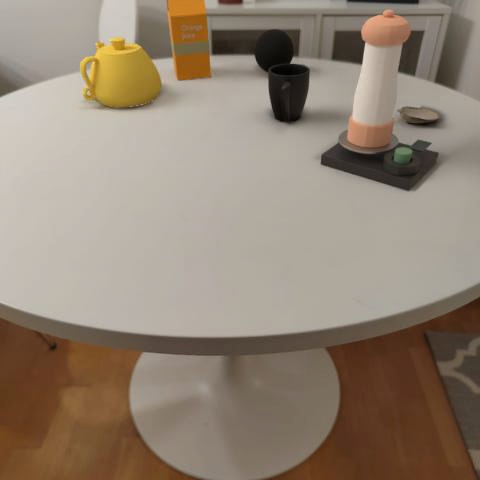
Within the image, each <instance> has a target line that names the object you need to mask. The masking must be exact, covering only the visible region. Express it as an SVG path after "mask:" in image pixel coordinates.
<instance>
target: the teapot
mask: <svg viewBox="0 0 480 480" xmlns="http://www.w3.org/2000/svg"><path fill="white" fill-rule="evenodd" d="M109 42H110V44H108V45H107V44H106V45H105V42H102V41H98V42H97V41H96V42H94V43H95V48H96V52H95V54H94V56H93V55H89V56H86V57H84V58H83V59H82V60H81V61H80V64H79V71H80V74H81V78H82V79H83V81H84V83H85V85H86V87H84V88H83V89H82V96H83V98H84V99H85V100H86V101H94V100H96V101H97V102H99V103H100V104H101V105H102V104H103V105H102V106H104V105H106V106H105V107H107V106H111V107H130V106H136V105H141V104H144V105H146V104H145V103H147V104H149V103H151V102H153V101H155V100H156V98H157V97H158V95H159V94H160V92H161V90H162V87H163V84H162V79H161V76H160V73H159V70H158V68H157V67H156V64H155V63H154V61H153V60H152V58H151V57H150V56H149V55H148V52H147V51H145V50H144V49H143V47H142V46H141V45H140V44H137V43H131V42H127V43H126V38H125V37H122V36H117V37H116V36H115V37H112V38H109ZM89 64H91V66H90V70H89V76H88V72H87V66H88V65H89ZM88 91H89V94H88ZM152 100H153V101H152ZM148 102H149V103H148ZM141 106H142V105H141ZM111 107H110V108H111Z"/></svg>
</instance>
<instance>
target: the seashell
mask: <svg viewBox="0 0 480 480" xmlns="http://www.w3.org/2000/svg"><path fill="white" fill-rule="evenodd" d="M396 111H397V113H399V114H400V117H401V119H402V120H403V121H405V122H407V123H410V124H425V123H430V122H431V123H432V122H434V121H437V120H439V119H440V116H439V114H438V113H437V112H435V111H432V110H429V109H425V108H422V107H416V106H402V107H400V108H399V109H397V110H396Z"/></svg>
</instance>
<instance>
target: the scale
mask: <svg viewBox="0 0 480 480" xmlns="http://www.w3.org/2000/svg"><path fill="white" fill-rule="evenodd" d="M411 145H412V144H411ZM411 145H410V144H406V143H402V142H398V146H397V147H396V148H395V149H394V150H392V151H389V152H386V153H380V154H365V153H358V152H354V151H351V150H348V149H346V148H344V147H343V146H342V145H341V144H340V143H339V142H337V143H336V144H335V145H332V147H330V148H329V149H327V150H326V151H324V152H323V153H322V154H320V155H321V156H320V166H321V165H322V166H324V167H327V168H330V169H334V170H338V171H341V172H344V173H348V174H351V175H354V176H358V177H359V178H364V179H367V180H371V181H374V182H377V183H380V184H383V185H388V186H390V187H393V188H397V189H399V190H403V191H407V192H408V191H409V190H411V189H412V188H413V187H414V186H415V185H416V184H417V183H418V182H419V180H420V179H422V178H423V176H424V175H426V174H427V173H428V172H429V171H430V170H431V169H432V168H433V167H434V166H435V165H436V164H437V162H438V158H439V154H440V153H439V152H438V151H433V150H430V149H426V150H424V151H423V152H419V151H415V150H412V156H411V161H410V163H406V164H402V163H397V162H395V161H394V155H395V150H396V149H397V148H400V147H405V148H409V147H410V146H411Z"/></svg>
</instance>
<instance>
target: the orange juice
mask: <svg viewBox="0 0 480 480" xmlns="http://www.w3.org/2000/svg"><path fill="white" fill-rule="evenodd" d="M166 7H167V8H166V9H167V10H166V13H167V19H168V28H169V37H170V38H169V39H170V46H171V53H172V61H173V70H174V74H175V77H176V80H177V81H178V80H180V81H188V80H187V79H190V80H196V79H195V78H200V79H206V78H205V77H209V78H212V70H211V69H212V68H211V56H210V41H209V30H208V29H209V27H208V16H207V9H206V2H205V0H166Z"/></svg>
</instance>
